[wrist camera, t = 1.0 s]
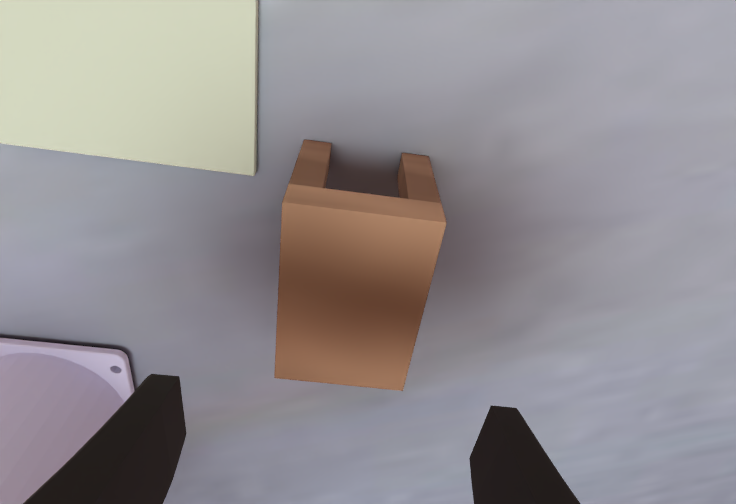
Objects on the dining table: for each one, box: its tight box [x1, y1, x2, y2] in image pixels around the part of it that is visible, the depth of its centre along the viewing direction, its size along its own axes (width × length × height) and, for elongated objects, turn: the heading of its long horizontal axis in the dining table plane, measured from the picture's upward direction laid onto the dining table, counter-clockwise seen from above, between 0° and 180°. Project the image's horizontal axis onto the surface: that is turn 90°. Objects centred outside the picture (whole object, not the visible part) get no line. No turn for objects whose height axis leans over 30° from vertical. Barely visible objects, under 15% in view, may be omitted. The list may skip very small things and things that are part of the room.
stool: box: [274, 140, 447, 391], centre depth 17 cm, size 7×5×5 cm, turn 172°
